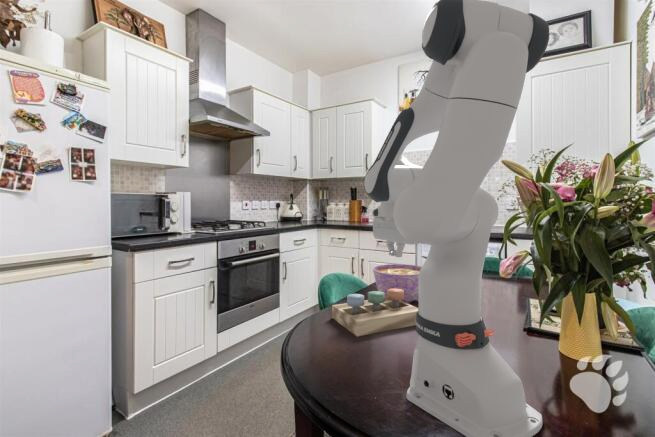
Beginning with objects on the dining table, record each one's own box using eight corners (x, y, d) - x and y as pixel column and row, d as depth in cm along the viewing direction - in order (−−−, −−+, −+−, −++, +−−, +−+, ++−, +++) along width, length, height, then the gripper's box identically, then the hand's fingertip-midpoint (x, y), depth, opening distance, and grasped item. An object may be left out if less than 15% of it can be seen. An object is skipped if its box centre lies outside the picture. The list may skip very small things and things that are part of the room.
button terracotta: (407, 310, 101) (407, 291, 101) (393, 312, 99) (393, 293, 99) (397, 305, 105) (397, 287, 105) (384, 308, 103) (384, 289, 103)
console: (423, 323, 96) (423, 310, 96) (357, 336, 88) (356, 321, 88) (391, 308, 111) (391, 296, 111) (332, 317, 102) (332, 305, 102)
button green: (387, 313, 98) (387, 294, 98) (373, 316, 96) (373, 296, 96) (378, 309, 103) (378, 290, 102) (364, 311, 101) (364, 292, 100)
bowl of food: (409, 291, 132) (409, 262, 132) (441, 305, 113) (441, 272, 113) (363, 296, 126) (363, 266, 126) (389, 312, 107) (389, 276, 107)
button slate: (367, 317, 95) (367, 297, 95) (352, 319, 93) (352, 299, 93) (359, 312, 100) (358, 293, 100) (344, 314, 98) (344, 295, 98)
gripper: (426, 211, 92) (426, 260, 93) (385, 210, 111) (385, 251, 112) (407, 212, 90) (408, 262, 91) (369, 211, 109) (369, 252, 109)
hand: (395, 256), depth 101 cm, fingers closed
